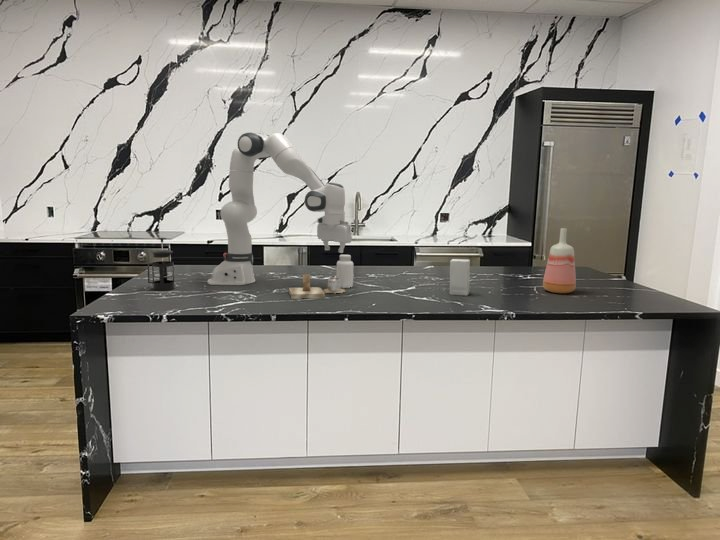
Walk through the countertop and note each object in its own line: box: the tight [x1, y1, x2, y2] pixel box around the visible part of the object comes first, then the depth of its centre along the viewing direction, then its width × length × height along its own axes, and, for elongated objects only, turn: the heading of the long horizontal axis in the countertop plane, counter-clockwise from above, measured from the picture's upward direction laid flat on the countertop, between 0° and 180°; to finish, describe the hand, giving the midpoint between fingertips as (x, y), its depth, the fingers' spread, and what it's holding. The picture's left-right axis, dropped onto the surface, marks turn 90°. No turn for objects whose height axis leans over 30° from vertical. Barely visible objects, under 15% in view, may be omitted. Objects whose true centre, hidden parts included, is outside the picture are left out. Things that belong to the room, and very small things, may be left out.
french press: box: [147, 237, 176, 292], centre depth 244 cm, size 12×9×23 cm
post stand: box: [288, 273, 326, 300], centre depth 238 cm, size 14×14×9 cm
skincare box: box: [449, 258, 471, 296], centre depth 245 cm, size 8×7×16 cm
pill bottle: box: [335, 254, 354, 289], centre depth 258 cm, size 8×8×15 cm
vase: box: [542, 227, 577, 294], centre depth 254 cm, size 14×14×30 cm
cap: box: [327, 276, 341, 292], centre depth 246 cm, size 6×6×6 cm
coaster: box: [322, 288, 346, 295], centre depth 247 cm, size 10×10×1 cm
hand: (333, 251), depth 244 cm, fingers open, 8 cm apart
